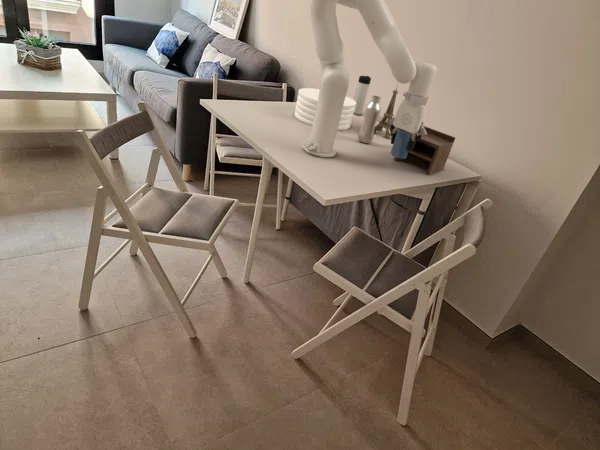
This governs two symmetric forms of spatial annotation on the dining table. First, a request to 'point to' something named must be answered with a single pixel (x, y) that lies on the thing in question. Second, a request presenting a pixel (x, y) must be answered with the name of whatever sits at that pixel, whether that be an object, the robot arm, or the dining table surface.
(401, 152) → the jug
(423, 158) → the shelf stand
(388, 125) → the eiffel tower
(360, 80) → the travel mug
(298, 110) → the plate stack
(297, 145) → the dining table surface
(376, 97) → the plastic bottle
